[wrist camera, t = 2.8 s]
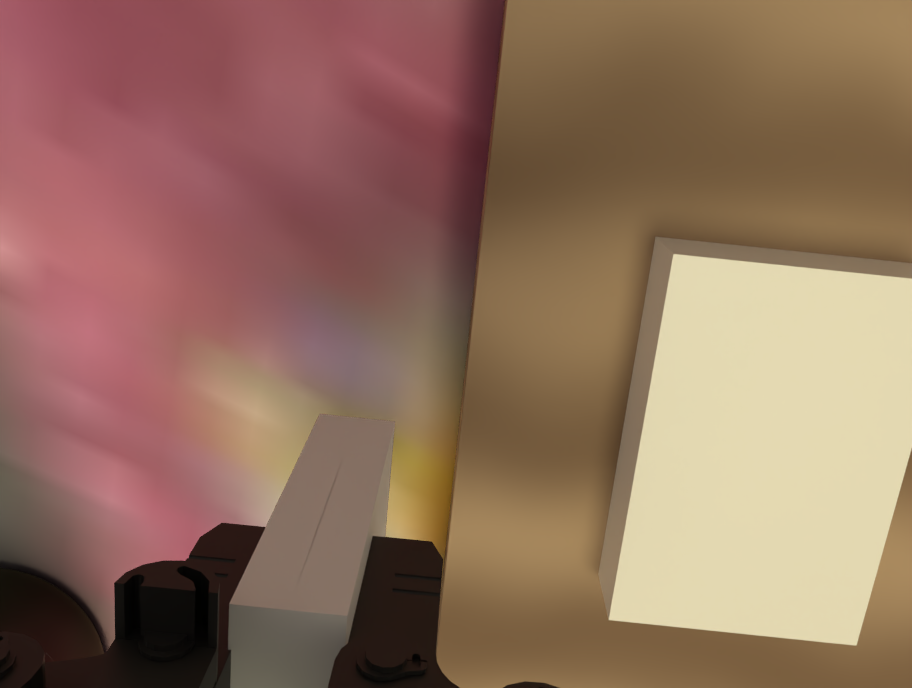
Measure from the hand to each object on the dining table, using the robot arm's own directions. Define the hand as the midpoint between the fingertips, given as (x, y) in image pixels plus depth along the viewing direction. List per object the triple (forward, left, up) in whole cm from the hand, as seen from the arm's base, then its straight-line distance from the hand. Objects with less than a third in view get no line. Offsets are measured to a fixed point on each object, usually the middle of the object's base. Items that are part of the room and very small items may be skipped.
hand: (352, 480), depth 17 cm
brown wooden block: (0, +9, -8) cm, 12 cm away
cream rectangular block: (0, +9, -4) cm, 10 cm away
